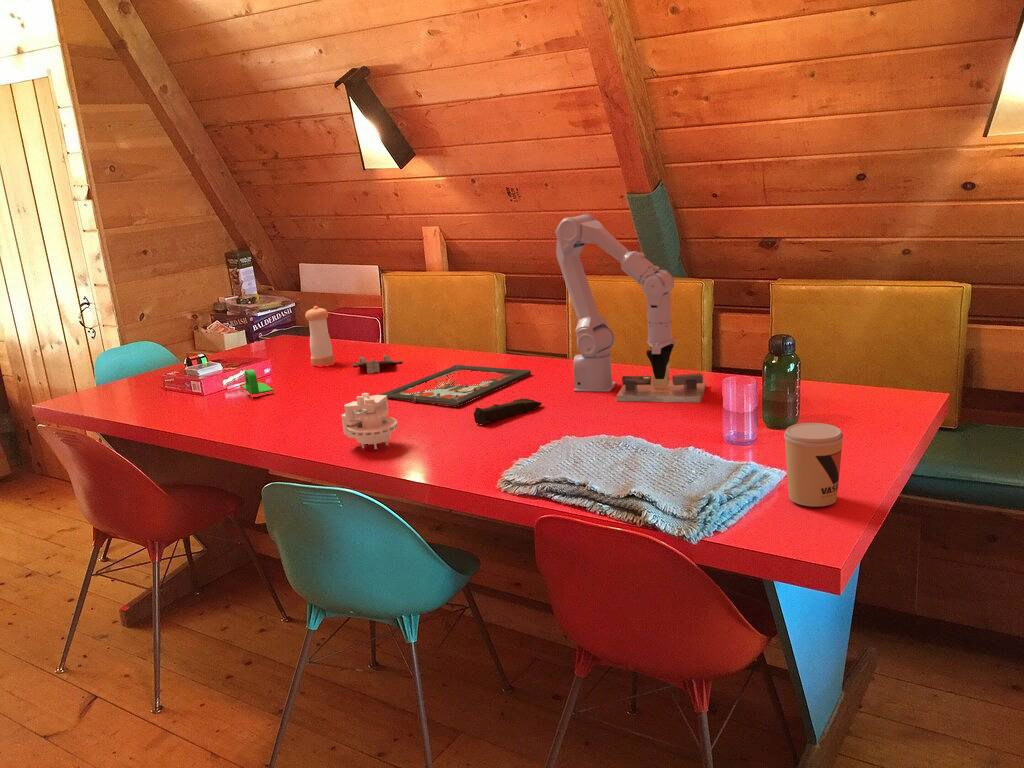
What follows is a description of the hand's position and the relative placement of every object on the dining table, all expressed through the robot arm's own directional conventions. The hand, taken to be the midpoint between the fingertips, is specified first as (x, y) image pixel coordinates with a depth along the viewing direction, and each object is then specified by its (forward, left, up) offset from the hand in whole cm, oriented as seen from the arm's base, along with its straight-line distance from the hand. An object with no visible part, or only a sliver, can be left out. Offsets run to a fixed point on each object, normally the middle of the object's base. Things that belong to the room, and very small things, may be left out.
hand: (661, 376), depth 218 cm
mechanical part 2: (-57, -44, -5) cm, 72 cm away
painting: (-56, +5, -5) cm, 56 cm away
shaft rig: (0, 0, -5) cm, 5 cm away
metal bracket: (-82, +26, -3) cm, 86 cm away
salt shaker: (-109, +28, -5) cm, 113 cm away
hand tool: (-31, -27, -3) cm, 42 cm away
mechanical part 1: (-113, -3, -5) cm, 113 cm away
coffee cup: (+34, -63, -5) cm, 72 cm away
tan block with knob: (0, 0, -2) cm, 2 cm away
